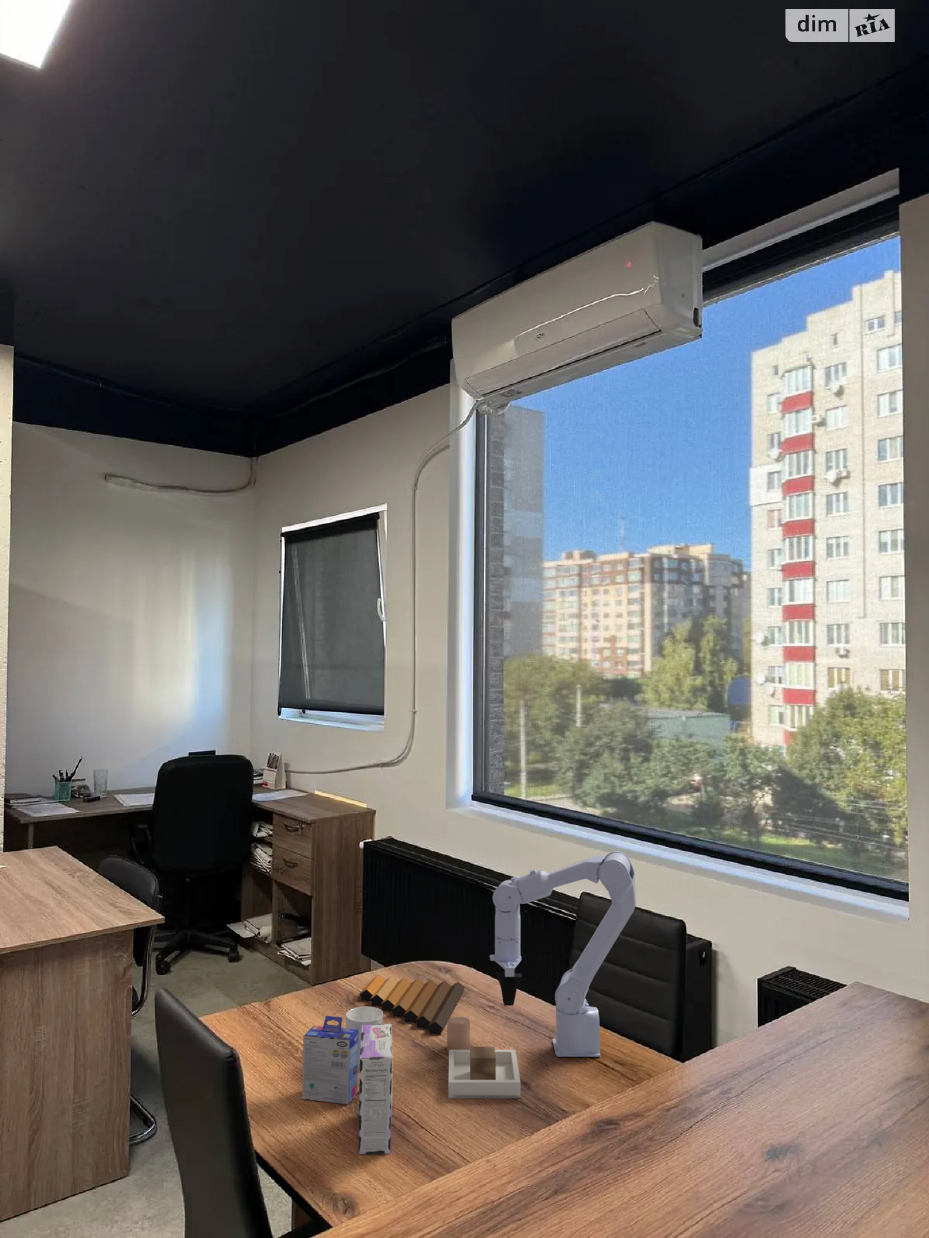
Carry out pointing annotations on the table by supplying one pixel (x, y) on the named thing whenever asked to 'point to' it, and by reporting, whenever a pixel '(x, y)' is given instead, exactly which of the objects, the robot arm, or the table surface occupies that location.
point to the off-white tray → (499, 1088)
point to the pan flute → (415, 1000)
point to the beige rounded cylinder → (458, 1033)
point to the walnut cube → (482, 1063)
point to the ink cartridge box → (330, 1063)
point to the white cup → (363, 1020)
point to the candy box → (375, 1089)
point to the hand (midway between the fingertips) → (507, 997)
